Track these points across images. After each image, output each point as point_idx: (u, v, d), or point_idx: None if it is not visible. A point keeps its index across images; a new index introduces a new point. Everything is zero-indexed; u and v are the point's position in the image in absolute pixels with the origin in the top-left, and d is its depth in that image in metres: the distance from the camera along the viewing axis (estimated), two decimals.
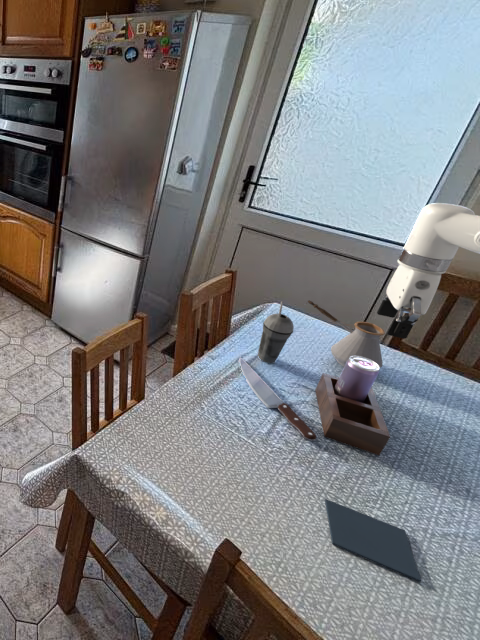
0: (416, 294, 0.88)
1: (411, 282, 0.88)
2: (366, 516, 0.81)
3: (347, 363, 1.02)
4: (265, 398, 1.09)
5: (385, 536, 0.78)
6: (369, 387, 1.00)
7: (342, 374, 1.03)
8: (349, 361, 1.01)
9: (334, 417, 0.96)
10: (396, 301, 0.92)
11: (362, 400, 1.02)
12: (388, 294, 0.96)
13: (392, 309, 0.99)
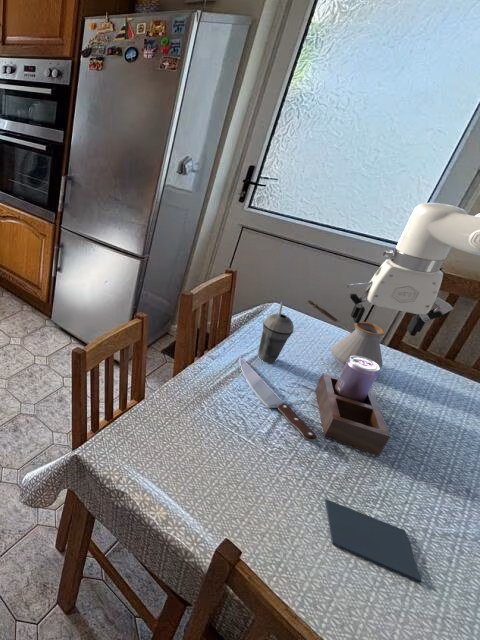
0: (373, 279, 0.94)
1: (379, 269, 0.93)
2: (366, 516, 0.81)
3: (347, 363, 1.02)
4: (265, 398, 1.09)
5: (385, 536, 0.78)
6: (369, 387, 1.00)
7: (342, 374, 1.03)
8: (349, 361, 1.01)
9: (334, 417, 0.96)
10: None
11: (362, 400, 1.02)
12: None
13: (413, 325, 0.92)
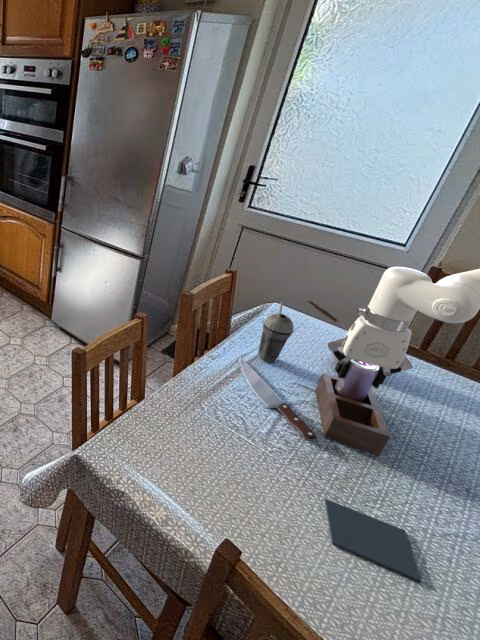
0: (346, 335, 1.00)
1: (354, 324, 1.00)
2: (366, 516, 0.81)
3: (347, 363, 1.02)
4: (265, 398, 1.09)
5: (385, 536, 0.78)
6: (369, 387, 1.00)
7: None
8: (349, 361, 1.01)
9: (334, 417, 0.96)
10: None
11: (362, 400, 1.02)
12: None
13: (376, 378, 1.00)
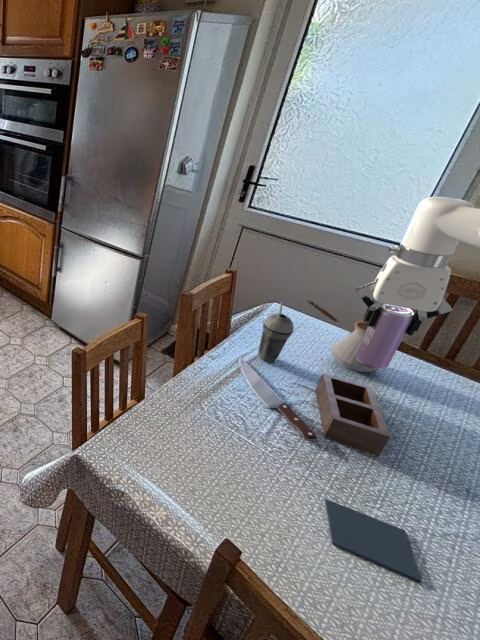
0: (377, 278, 0.92)
1: (385, 265, 0.91)
2: (366, 516, 0.81)
3: (377, 310, 0.93)
4: (265, 398, 1.09)
5: (385, 536, 0.78)
6: (402, 335, 0.91)
7: None
8: (380, 307, 0.93)
9: (334, 417, 0.96)
10: None
11: (394, 350, 0.93)
12: None
13: (410, 324, 0.91)
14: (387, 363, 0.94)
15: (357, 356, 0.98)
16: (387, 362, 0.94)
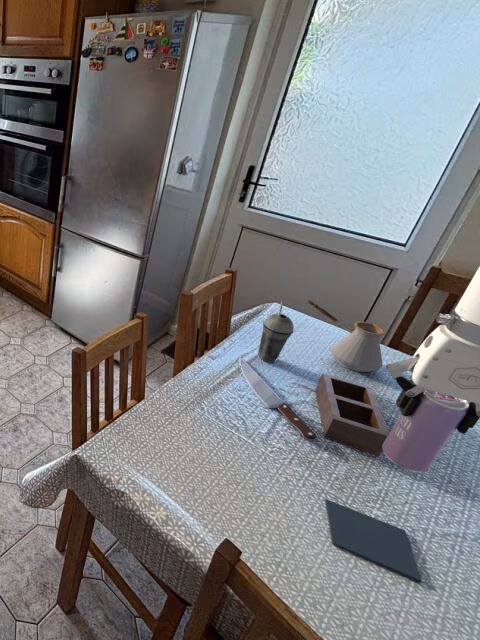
0: (417, 354, 0.67)
1: (429, 337, 0.66)
2: (366, 516, 0.81)
3: (417, 395, 0.69)
4: (265, 398, 1.09)
5: (385, 536, 0.78)
6: (451, 432, 0.67)
7: None
8: None
9: (334, 417, 0.96)
10: None
11: (438, 450, 0.68)
12: None
13: None
14: (428, 465, 0.70)
15: (386, 451, 0.73)
16: (428, 464, 0.70)
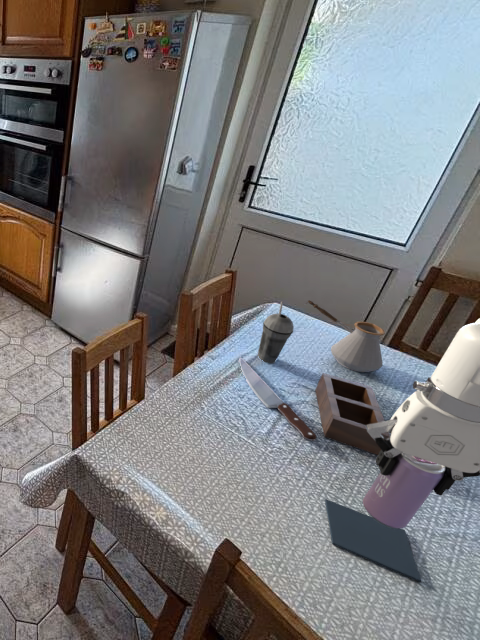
0: (395, 416, 0.68)
1: (406, 401, 0.68)
2: (366, 516, 0.81)
3: None
4: (265, 398, 1.09)
5: (385, 536, 0.78)
6: (428, 493, 0.68)
7: None
8: None
9: (334, 417, 0.96)
10: None
11: (416, 509, 0.70)
12: None
13: None
14: (406, 523, 0.71)
15: (366, 506, 0.75)
16: (406, 522, 0.71)
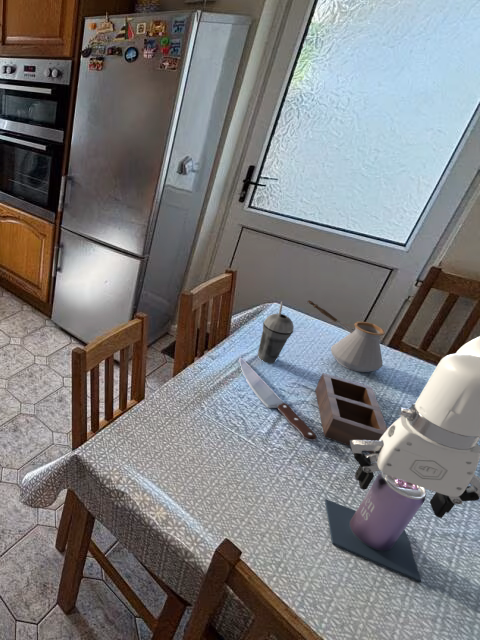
0: (384, 439, 0.71)
1: (392, 426, 0.70)
2: None
3: (378, 480, 0.73)
4: (265, 398, 1.09)
5: None
6: (410, 518, 0.71)
7: (371, 494, 0.74)
8: (381, 478, 0.73)
9: (334, 417, 0.96)
10: None
11: (400, 533, 0.73)
12: None
13: (439, 503, 0.69)
14: (391, 545, 0.74)
15: (353, 528, 0.78)
16: (391, 544, 0.74)
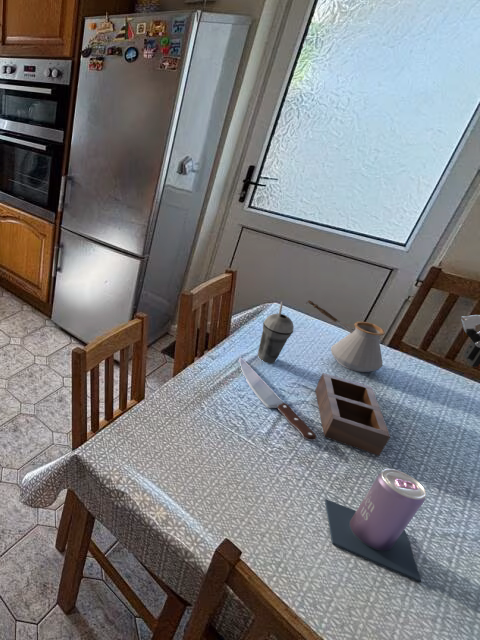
0: None
1: None
2: None
3: (378, 480, 0.73)
4: (265, 398, 1.09)
5: None
6: (410, 518, 0.71)
7: (371, 494, 0.74)
8: (381, 478, 0.73)
9: (334, 417, 0.96)
10: None
11: (400, 533, 0.73)
12: None
13: None
14: (391, 545, 0.74)
15: (353, 528, 0.78)
16: (391, 544, 0.74)
